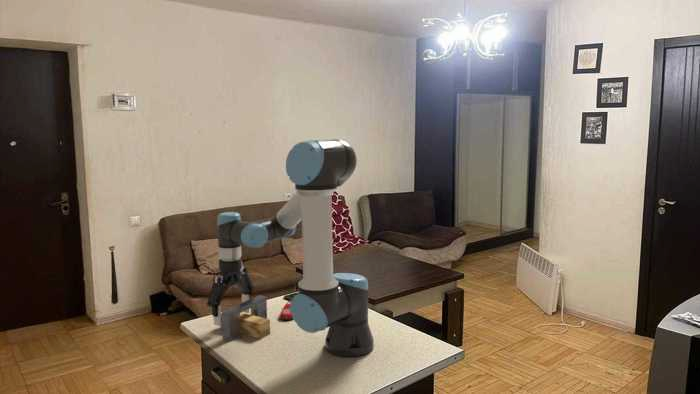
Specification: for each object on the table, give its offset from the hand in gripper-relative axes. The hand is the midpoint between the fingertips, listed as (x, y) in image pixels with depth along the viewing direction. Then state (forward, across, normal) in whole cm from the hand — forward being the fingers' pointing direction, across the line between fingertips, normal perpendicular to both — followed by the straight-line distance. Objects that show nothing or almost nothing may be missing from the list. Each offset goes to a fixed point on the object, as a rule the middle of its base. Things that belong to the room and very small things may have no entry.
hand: (232, 318), depth 178 cm
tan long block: (+3, 0, +6) cm, 7 cm away
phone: (+4, -34, +5) cm, 35 cm away
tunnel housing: (+3, 0, +6) cm, 7 cm away
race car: (+4, -20, +10) cm, 22 cm away
